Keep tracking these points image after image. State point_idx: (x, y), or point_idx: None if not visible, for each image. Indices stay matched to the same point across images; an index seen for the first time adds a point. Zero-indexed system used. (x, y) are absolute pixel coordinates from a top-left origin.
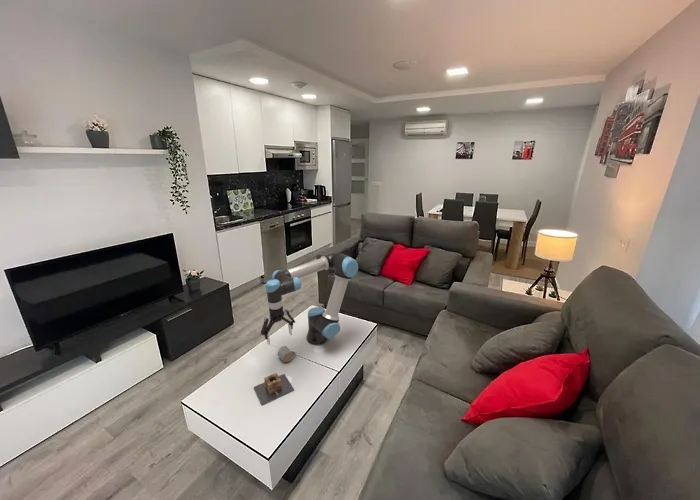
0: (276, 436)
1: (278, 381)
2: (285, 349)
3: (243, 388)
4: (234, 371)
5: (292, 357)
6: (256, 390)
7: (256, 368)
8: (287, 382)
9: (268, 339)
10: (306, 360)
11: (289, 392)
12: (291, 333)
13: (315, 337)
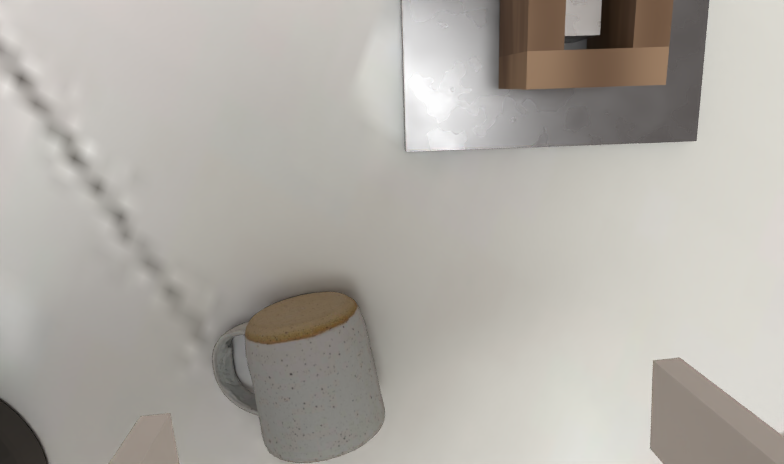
0: None
1: None
2: (305, 399)
3: (754, 186)
4: None
5: (264, 308)
6: (692, 83)
7: (583, 359)
8: (422, 21)
9: (768, 428)
10: (149, 229)
11: None
12: (139, 439)
13: None
